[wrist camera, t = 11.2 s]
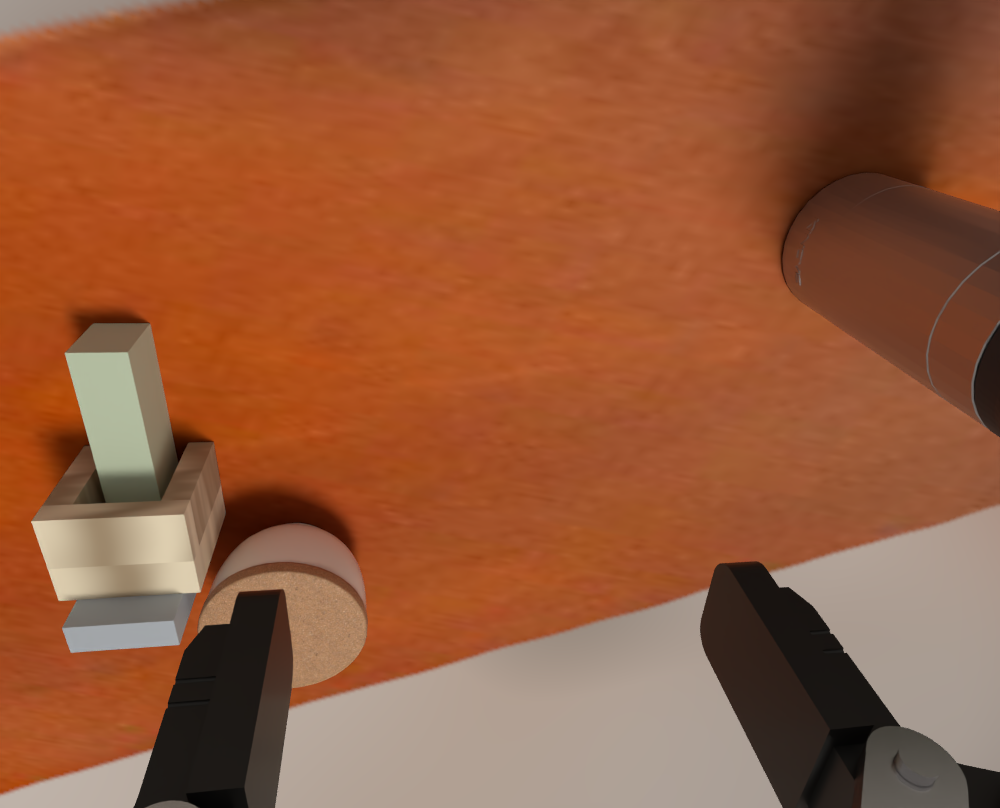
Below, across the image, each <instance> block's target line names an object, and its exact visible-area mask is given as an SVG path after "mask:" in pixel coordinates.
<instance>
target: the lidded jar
mask: <svg viewBox="0 0 1000 808" xmlns="http://www.w3.org/2000/svg"><path fill="white" fill-rule="evenodd" d="M275 589H283V590H284V592H285V596H286V603H287V611H288V618H289V626H290V634H291V641H292V649H293V680H292V688H296V687H303V686H307V685H312V684H316V683H318V682H321V681H324V680H326V679H328V678H330V677H332V676H334V675H336V674H338V673H339V672H341V671H342V670H344V669H345V668H346V667H347V666H348V665H349V664H351V663H352V662H353V661H354V660H355V658H356V657H357V656H358V654H359V653H360V651H361V650H362V648H363V646H364V643H365V640H366V637H367V624H368V620H367V613H366V594H365V587H364V581H363V577H362V573H361V570H360V568H359V565H358V563H357V561H356V559H355V558H354V556H353V554H352V553H351V551H350V550H349V549H348V548H347V546H346V545H345V544H344V543H343V542H342V541H340V540H339V539H338V538H337V537H335V536H334V535H332V534H330V533H329V532H327V531H325V530H322V529H320V528H318V527H316V526H313V525H309V524H304V523H288V524H283V525H278V526H273V527H269V528H267V529H264V530H262V531H260V532H258V533H256V534H254V535H252V536H250V537H249V538H247V539H246V540H245V541H243V542H242V543H241V544H240V545H239V546H237V547H236V548H235V549H234V550H233V552H232V553H231V554H230V555H229V556H228V558H227V559H226V560H225V562H224V563H223V565H222V566H221V568H220V570H219V571H218V573H217V575H216V577H215V579H214V582H213V584H212V587H211V589H210V592H209V595H208V597H207V599H206V601H205V603H204V606H203V608H202V611H201V613H200V617H199V621H198V634H199V632H200V631H201V630H202V629H203V627H204V626H205V625H217V624H230V620H231V616H232V612H233V608H234V604H235V600H236V597H237V595H238V593H239V592H242V591H259V590H275Z"/></svg>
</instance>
